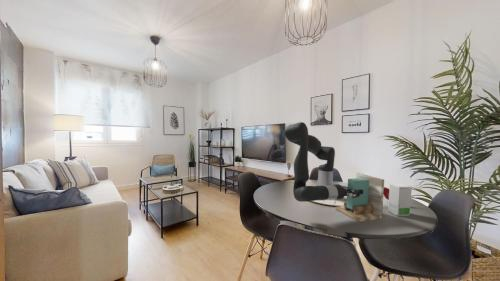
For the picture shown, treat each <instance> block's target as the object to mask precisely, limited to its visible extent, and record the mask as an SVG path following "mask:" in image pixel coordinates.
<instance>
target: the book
mask: <svg viewBox="0 0 500 281" xmlns="http://www.w3.org/2000/svg"><path fill="white" fill-rule="evenodd" d="M347 187H348V189H354V190H363V194H360V196H359V197H356V198H352V196H346V202H347V204H346V207H348V208H350V209H352V210H353V209H354V206H363V205H368V192H369V180H367V179H364V178H357V179H356V178H348V179H347ZM354 192H355V191H354Z"/></svg>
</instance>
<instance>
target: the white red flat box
mask: <svg viewBox="0 0 500 281" xmlns="http://www.w3.org/2000/svg"><path fill="white" fill-rule="evenodd" d="M383 197H385V199H386V200H387V201H389V188H388V187H386V186H384V193H383ZM413 198H414V196H411V199H413Z"/></svg>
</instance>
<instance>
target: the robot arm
mask: <svg viewBox="0 0 500 281" xmlns="http://www.w3.org/2000/svg"><path fill="white" fill-rule="evenodd" d="M283 133H284V135H285V138H286V139H287V141H288V142H290V143H292V144H295V145H297V146H299V148H298V152H297V154H296V156H295V159H294V161H293V175H294V179H293V180H294V181H293V188H292V190H293V191H292V192H293V196H294V199H295V200H296V201H297V202H300V203H301V202H302V203H303V202H314V201H337V200H343V199H344V197H347V196H352V198H356V197H359V196H360V194H363V190H354V189H348V186H347V185H341V184H333V181H334V166H335V156H336V152H335V151H336V150H335V147H332V146H322V142H321V140H319V138H317V137H316V136H314V135H311V134H309V128H308V126H307V124H306V123H305V122H302V121H299V122H296V123H293V124H289V125H287V126H286V127H285V128H284V132H283ZM309 152H310V153H311V154H313V155H314V156H315V157H316V158H317V159H318V160H320V161H326V163H324V164H320V165H318V171H317V173H318V175H317V176H318V177H317V180H316V185H307V182H308V181H309V180H310V173H309V171H310V170H309V162H308V161H309V160H308V157H309V155H308V153H309ZM354 191H355V192H354Z"/></svg>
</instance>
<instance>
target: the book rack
mask: <svg viewBox="0 0 500 281" xmlns="http://www.w3.org/2000/svg"><path fill="white" fill-rule="evenodd" d="M357 178H364V179H367V180H369V192H368V205H363V206H354V209H353V210H352V209H350V208H348V207H346V204H347V201H343V205H341V206H339V205H338V206H335V208H334V209H335V211H337V212H339V213H341V214H342V215H345V216H346V217H349V219H352V220H354V221H355V222H357V223H359V222H368V221H375V220H382V219H383V204H384V194H383V193H384V187H385V179H383V178H378V177H375V176H371V175H368V174H364V173H360V172H356V178H355V179H357Z"/></svg>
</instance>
